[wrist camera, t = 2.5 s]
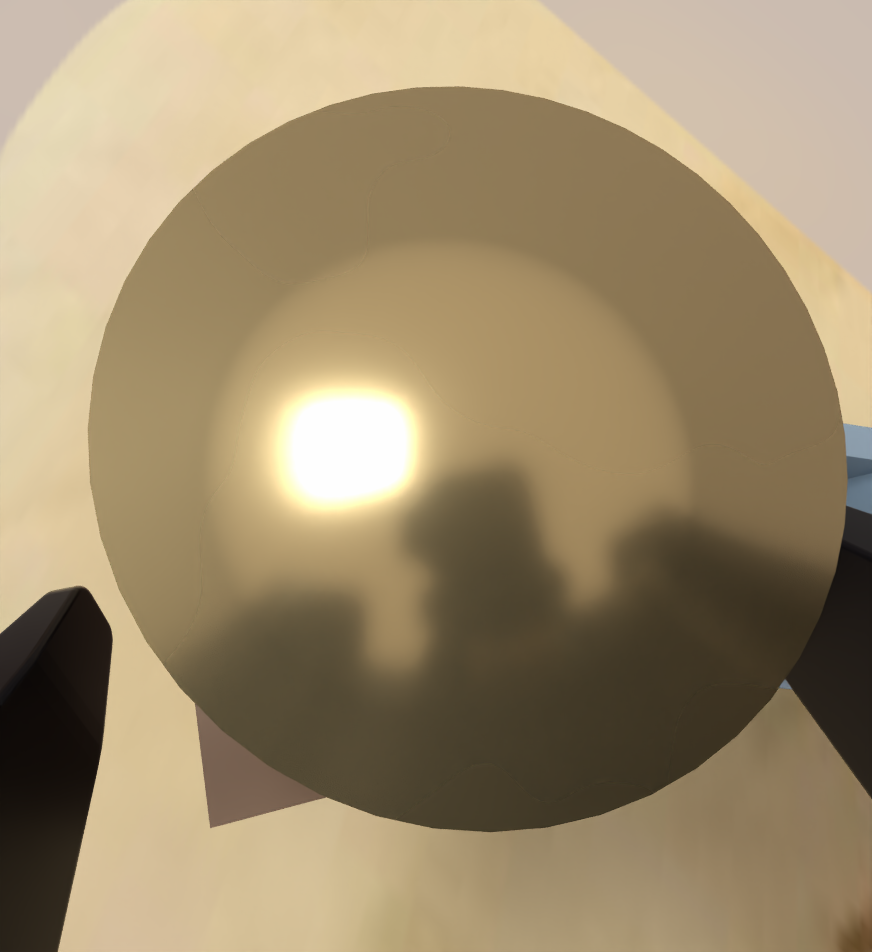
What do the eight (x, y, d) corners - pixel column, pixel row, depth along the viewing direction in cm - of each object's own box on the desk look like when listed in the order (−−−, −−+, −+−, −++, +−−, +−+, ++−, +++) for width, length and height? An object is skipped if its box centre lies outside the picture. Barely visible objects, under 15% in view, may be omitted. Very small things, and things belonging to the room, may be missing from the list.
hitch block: (570, 679, 16) (645, 712, 12) (256, 758, 15) (210, 828, 10) (501, 391, 18) (545, 327, 13) (212, 438, 16) (155, 381, 12)
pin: (481, 587, 16) (982, 572, 3) (359, 654, 16) (310, 1034, 2) (419, 469, 17) (616, 11, 4) (298, 528, 16) (-39, 226, 3)
